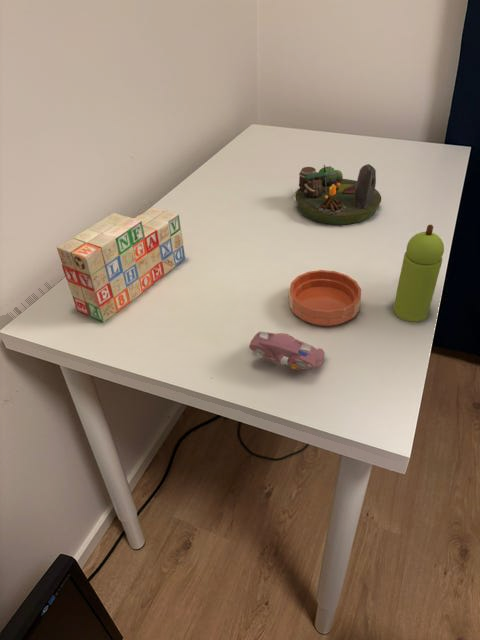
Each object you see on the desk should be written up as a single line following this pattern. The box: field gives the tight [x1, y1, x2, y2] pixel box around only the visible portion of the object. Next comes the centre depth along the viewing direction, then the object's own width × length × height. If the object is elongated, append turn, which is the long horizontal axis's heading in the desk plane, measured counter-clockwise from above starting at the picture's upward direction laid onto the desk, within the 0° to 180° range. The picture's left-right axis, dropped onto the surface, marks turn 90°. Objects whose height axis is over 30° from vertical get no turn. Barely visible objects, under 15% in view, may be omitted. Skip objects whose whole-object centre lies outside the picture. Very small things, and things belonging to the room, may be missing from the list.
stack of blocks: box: [56, 206, 186, 323], centre depth 81 cm, size 21×6×12 cm, turn 147°
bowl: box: [288, 269, 362, 327], centre depth 77 cm, size 11×11×3 cm
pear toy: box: [392, 224, 445, 323], centre depth 71 cm, size 5×5×15 cm
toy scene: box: [294, 163, 382, 225], centre depth 101 cm, size 18×18×11 cm
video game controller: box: [248, 330, 325, 370], centre depth 66 cm, size 10×5×7 cm, turn 64°
